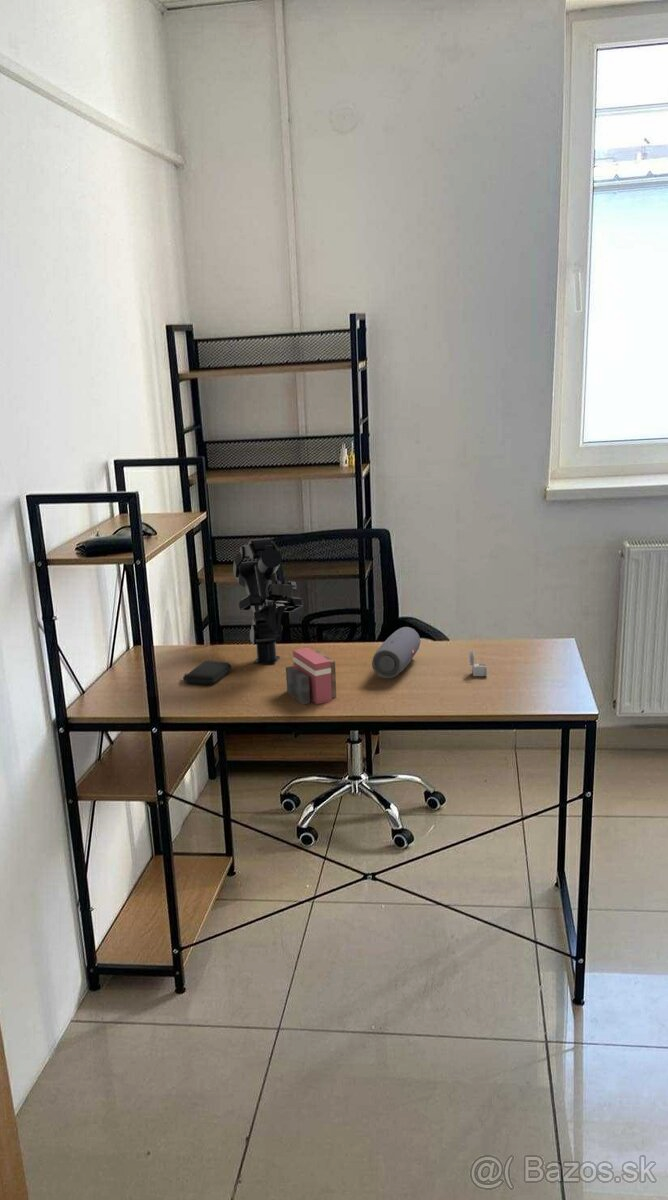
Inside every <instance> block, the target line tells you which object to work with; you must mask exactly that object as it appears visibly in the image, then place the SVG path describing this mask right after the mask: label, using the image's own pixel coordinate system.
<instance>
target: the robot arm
mask: <svg viewBox="0 0 668 1200" xmlns="http://www.w3.org/2000/svg"><path fill="white" fill-rule="evenodd" d="M280 551H281V550H280V549H279V547H278V546H277V544H276V543H275V541H273V539H272V538H271V537H267V538H257V539H249V541H248V542H247V544H243V545H241V546H240V548H239V553H237V554H236V556H235V558H233V567H232V569H233V572H232V573H233V577H234V578H235V579H236V581H237V584H238V585H239V586H241V587H243V588H244V589H245V591H246V594H247V595H246V596H245V597H243V598H241V599H240V601H239V603H238V606H239V610H240V611H250V609H251V611H252V613H253V614H252V615H253V617H252V624H251V627H250V631H249V640H250V642H251V643H252V645H254V646H255V645H256V647H255V648H256V658H255V659H254V660H253V664H258V665H259V664H260V665H274V664H276V663H277V662H278V660H279V659H280V658H281V656H280V655H277V651H276V650H277V649H276V648H277V646H276V645H277V644H276V642H279V643H280V642H282V639H283V637H282V636H283V635H282V633H283V628H284V627H283V625H282V623H281V620H282V615H283V613H292V612H295V611H296V610H298V609H301V608H302V607H304V603H303V599H302V598H301V597H300V596H299V597H298V596H293V595H294V594H297V592H298V586H297V583H296V581H287V583H286V584H285V583H282V581H281V580H278V577H277V571H278V570H279V567H280V565H281V563H282V559H283V558H282V555H281V553H280ZM247 558H249V559H251V560H249V561H244V560H245V559H247ZM286 596H289V597H287V598H286ZM282 599H283V600H282Z"/></svg>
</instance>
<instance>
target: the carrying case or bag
mask: <svg viewBox="0 0 668 1200" xmlns="http://www.w3.org/2000/svg"><path fill="white" fill-rule="evenodd" d="M232 669H233V667H232V665H231V663H229V662H224V661H213V660H211V661H209V660H208V661H207V660H206V661H203V662H202V663H200V664H199V665H198V666H196V667H195V668H193V669H192V670H191V671H189V672H187V673H184V674H183V677H182V680H183V681H184V683H185V682H186V683H187V684H189V685H195V686H196V685H198V686H208V687H209V686H213V685H216V683H218V682H219V681H221V680H222V679H223V678H224V677H225V676H226V675H228V674H229V673H230V672H231V670H232Z"/></svg>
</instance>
